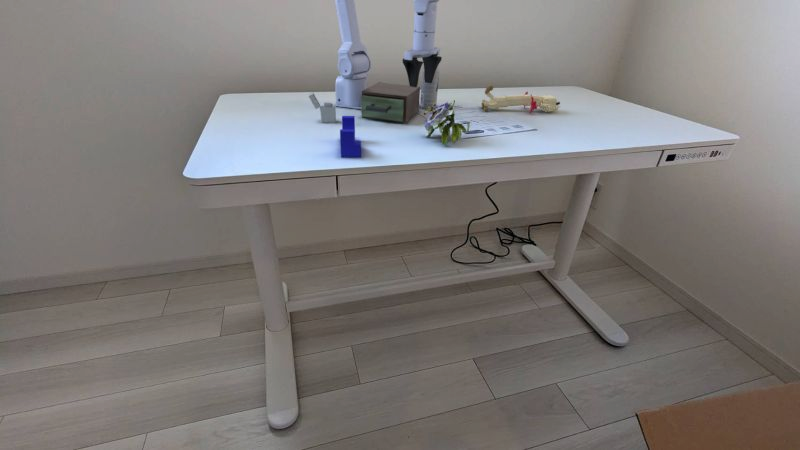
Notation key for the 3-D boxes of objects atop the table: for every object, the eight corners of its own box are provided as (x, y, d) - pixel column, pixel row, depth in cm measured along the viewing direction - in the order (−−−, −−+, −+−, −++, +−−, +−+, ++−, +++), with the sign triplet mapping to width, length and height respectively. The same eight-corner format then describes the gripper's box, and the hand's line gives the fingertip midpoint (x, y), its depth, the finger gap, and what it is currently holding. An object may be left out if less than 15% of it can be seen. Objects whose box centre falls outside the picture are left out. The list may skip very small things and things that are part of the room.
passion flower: (427, 156, 105) (419, 113, 106) (467, 149, 105) (458, 106, 106) (431, 146, 94) (421, 98, 94) (475, 137, 94) (465, 89, 95)
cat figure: (485, 117, 125) (564, 113, 124) (487, 89, 120) (569, 85, 120) (479, 109, 133) (553, 105, 133) (481, 82, 129) (557, 78, 128)
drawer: (396, 126, 107) (397, 104, 104) (355, 120, 110) (354, 99, 107) (414, 110, 121) (415, 91, 118) (377, 106, 124) (377, 87, 121)
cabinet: (405, 123, 112) (406, 96, 108) (361, 117, 116) (361, 91, 112) (418, 111, 123) (420, 86, 119) (378, 106, 127) (378, 82, 123)
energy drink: (436, 105, 131) (439, 67, 125) (436, 109, 126) (439, 70, 120) (420, 104, 131) (422, 66, 125) (419, 108, 127) (421, 69, 120)
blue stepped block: (361, 157, 89) (360, 131, 86) (341, 157, 88) (339, 131, 85) (361, 139, 99) (360, 116, 96) (343, 139, 99) (342, 115, 95)
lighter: (336, 120, 112) (334, 92, 108) (336, 122, 111) (334, 93, 106) (310, 120, 111) (308, 91, 107) (310, 122, 110) (307, 93, 105)
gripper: (421, 34, 98) (417, 90, 105) (451, 31, 108) (446, 83, 115) (398, 32, 101) (397, 86, 108) (429, 29, 111) (426, 79, 118)
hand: (420, 84), depth 112 cm, fingers open, 7 cm apart
